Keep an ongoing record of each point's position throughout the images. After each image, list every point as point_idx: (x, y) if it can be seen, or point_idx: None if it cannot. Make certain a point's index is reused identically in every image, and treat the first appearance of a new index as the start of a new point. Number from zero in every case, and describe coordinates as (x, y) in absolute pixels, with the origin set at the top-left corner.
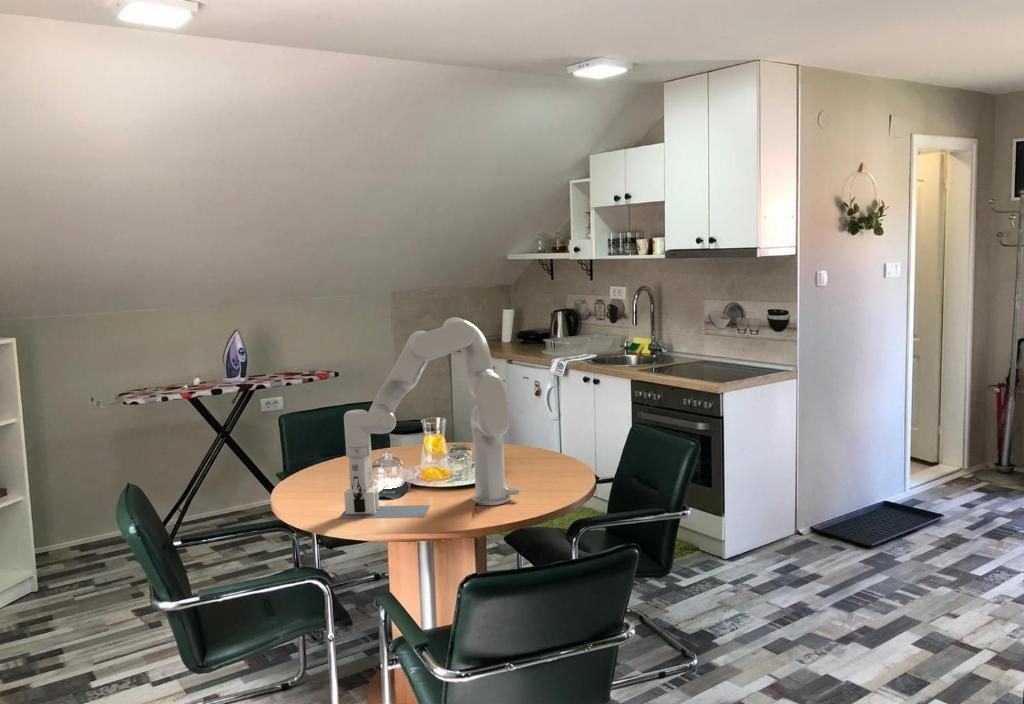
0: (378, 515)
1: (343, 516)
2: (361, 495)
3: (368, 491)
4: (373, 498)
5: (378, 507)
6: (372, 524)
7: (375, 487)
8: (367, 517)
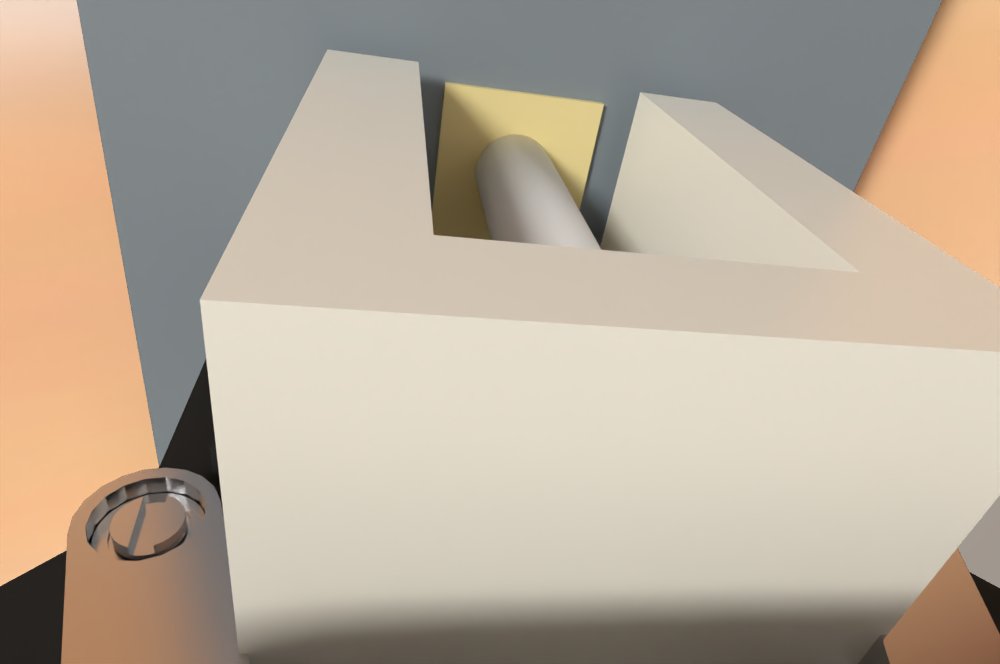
0: (772, 13)
1: None
2: (959, 603)
3: (847, 541)
4: (919, 248)
5: (388, 61)
6: (953, 90)
7: (269, 404)
8: None
